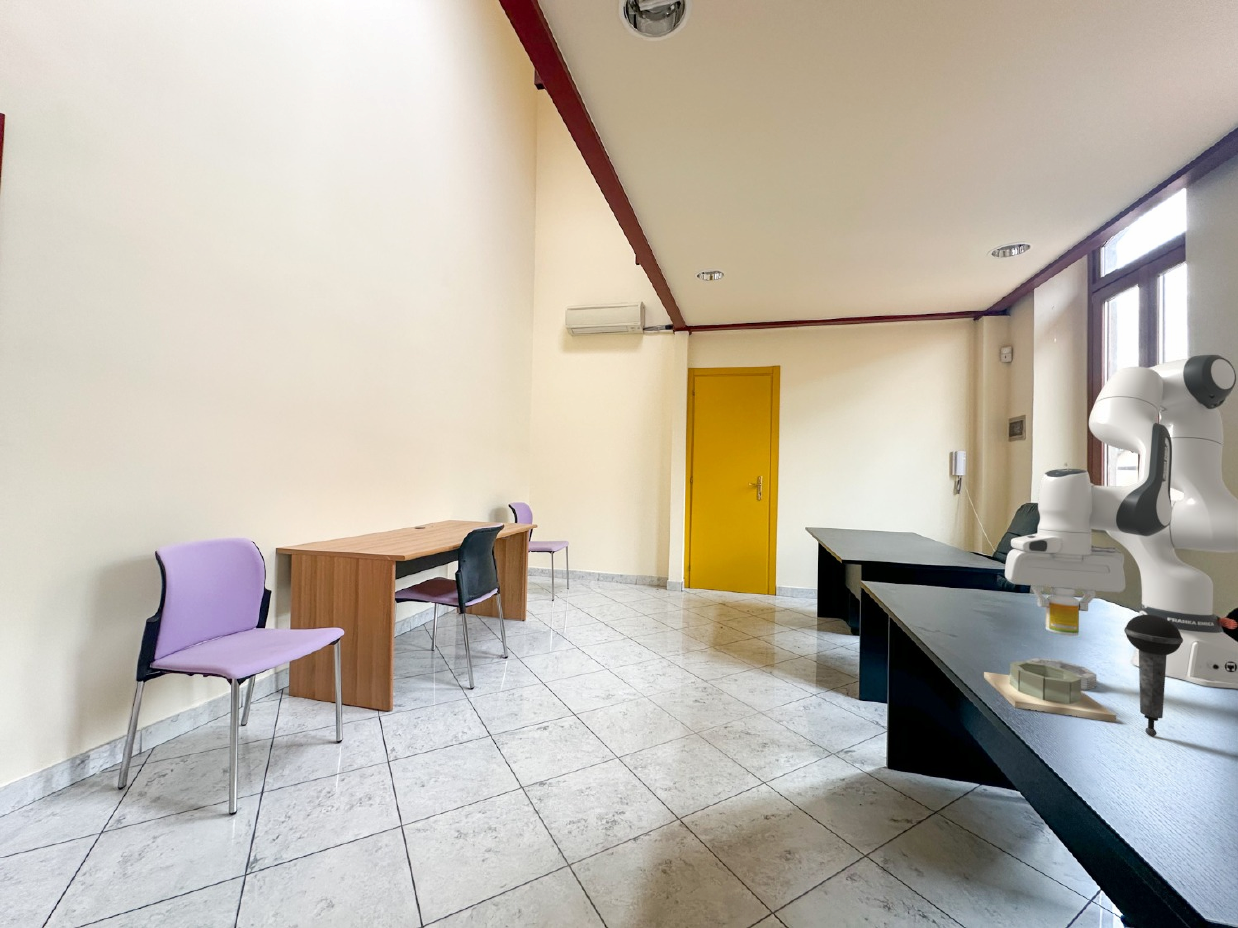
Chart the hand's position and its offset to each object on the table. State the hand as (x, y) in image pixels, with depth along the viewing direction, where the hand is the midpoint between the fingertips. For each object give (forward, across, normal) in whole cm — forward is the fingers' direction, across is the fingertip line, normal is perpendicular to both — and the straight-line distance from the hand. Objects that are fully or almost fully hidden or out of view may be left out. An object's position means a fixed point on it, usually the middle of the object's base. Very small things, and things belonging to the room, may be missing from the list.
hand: (1062, 608), depth 110 cm
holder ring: (+15, 0, 0) cm, 15 cm away
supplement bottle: (+5, 0, 0) cm, 5 cm away
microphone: (+15, -2, +25) cm, 29 cm away
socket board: (+15, +9, +14) cm, 22 cm away
